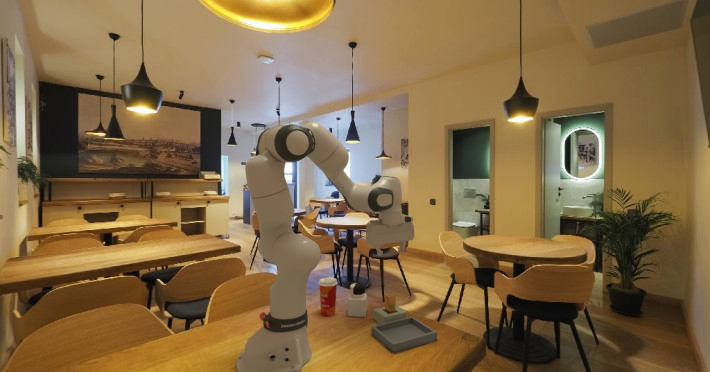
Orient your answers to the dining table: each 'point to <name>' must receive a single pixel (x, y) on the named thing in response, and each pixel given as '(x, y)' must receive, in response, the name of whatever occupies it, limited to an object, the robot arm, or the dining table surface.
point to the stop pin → (390, 303)
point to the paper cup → (328, 296)
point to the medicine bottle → (357, 300)
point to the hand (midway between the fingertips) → (390, 254)
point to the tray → (403, 334)
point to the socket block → (388, 315)
